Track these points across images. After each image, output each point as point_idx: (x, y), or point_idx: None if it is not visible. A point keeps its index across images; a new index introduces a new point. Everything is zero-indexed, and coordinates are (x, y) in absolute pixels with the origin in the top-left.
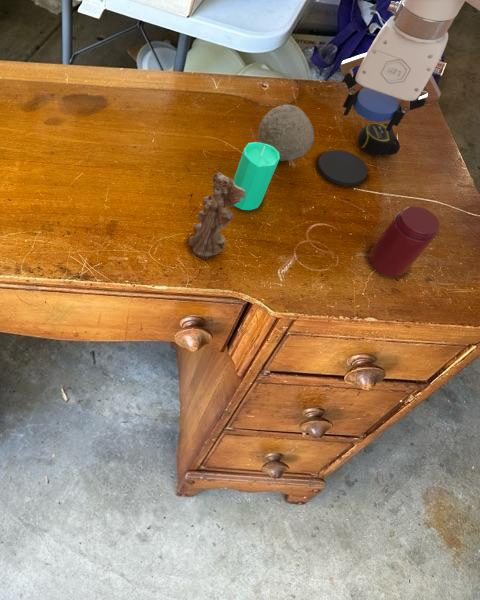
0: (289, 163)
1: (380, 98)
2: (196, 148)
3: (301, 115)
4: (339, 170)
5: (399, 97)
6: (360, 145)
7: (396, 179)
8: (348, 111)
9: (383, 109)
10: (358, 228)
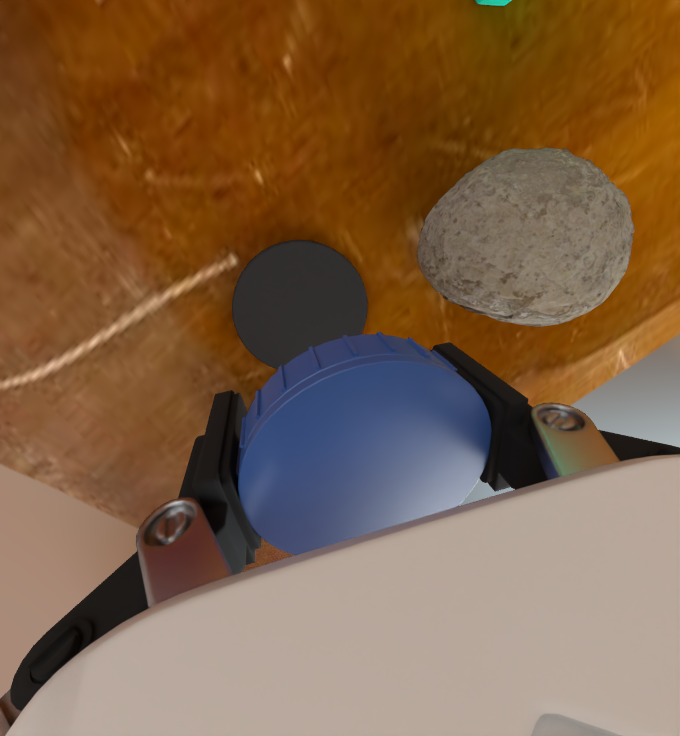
0: None
1: (368, 501)
2: (663, 96)
3: (563, 265)
4: (302, 289)
5: (233, 598)
6: None
7: (171, 376)
8: (445, 358)
9: (310, 438)
10: (99, 59)
